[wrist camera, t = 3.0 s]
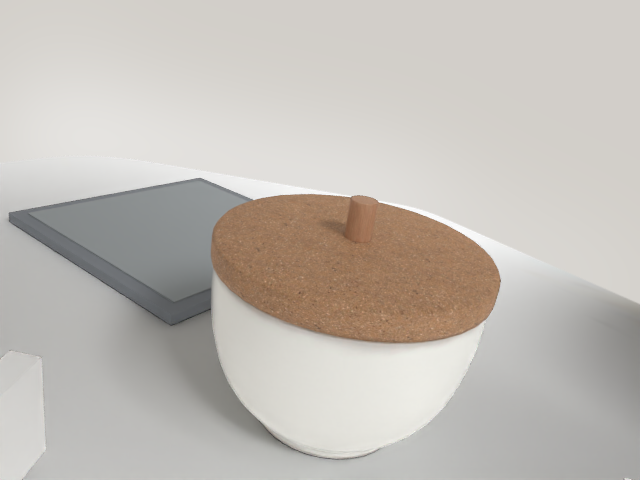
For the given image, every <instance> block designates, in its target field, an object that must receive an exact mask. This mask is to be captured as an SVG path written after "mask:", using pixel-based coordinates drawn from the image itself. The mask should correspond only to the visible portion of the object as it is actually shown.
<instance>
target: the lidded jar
mask: <svg viewBox="0 0 640 480" xmlns="http://www.w3.org/2000/svg"><path fill="white" fill-rule="evenodd" d="M211 260H212V265H213V272H212V285H211V313H212V327H213V332H214V338H215V343H216V349H217V354H218V358H219V361H220V364H221V366H222V369H223V371H224V374H225V376H226V378H227V380H228V383H229V385H230V386H231V388H232V389H233V391H234V392H235V394H236V395H237V397H238V398H239V399H240V401H241V402H242V404H243V405H244V406H245V407H246V408H247V409H248V410H249V411H250V412H251V413H252V414H253V415H254V416H255V417H256V418H257V419H258V420H259V421H260V422H261V423H262V424H263V425H264V426H265V428H266V429H267V430H268V431H269V432H270V433H271V434H272V435H273V436H274V437H275V438H277V439H278V440H279V441H281V442H282V443H284V444H285V445H287V446H289V447H291V448H293V449H295V450H297V451H300V452H303V453H305V454H309V455H312V456H316V457H322V458H329V459H349V458H356V457H361V456H365V455H368V454H370V453H373V452H375V451H377V450H378V449H380V448H382V447H385V446H388V445H390V444H393V443H396V442H398V441H401V440H403V439H405V438H407V437H409V436H410V435H412V434H413V433H415V432H417V431H418V430H420V429H421V428H423V427H424V426H426V425H427V424H428V423H429V422H430V421H431V420H432V419H433V418H434V417H435V416H436V415H437V414H438V413H439V412H440V411H441V410H442V409H443V408H444V407H445V406H446V405H447V404H448V402H449V401H450V399H451V398H452V396H453V394H454V393H455V391H456V390H457V388H458V387H459V385H460V383H461V382H462V380H463V378H464V377H465V375H466V373H467V370H468V368H469V366H470V364H471V362H472V360H473V358H474V356H475V353H476V350H477V347H478V345H479V342H480V339H481V336H482V333H483V329H484V326H485V322H486V319H487V317H488V316H489V314H490V313H491V311H492V310H493V307H494V305H495V302H496V299H497V295H498V292H499V287H500V282H501V280H500V275H499V271H498V269H497V267H496V265H495V263H494V261H493V259H492V258H491V257H490V256H489V255H488V254H487V253H486V251H485V250H484V249H482V248H481V247H480V246H479V245H478V244H476V243H475V242H474V241H473V240H471V239H470V238H468V237H466V236H465V235H463V234H462V233H460V232H458V231H456V230H454V229H452V228H451V227H449V226H447V225H445V224H443V223H440V222H438V221H435V220H433V219H431V218H428V217H426V216H423V215H420V214H418V213H415V212H412V211H408V210H405V209H402V208H398V207H394V206H391V205H387V204H383V203H378V201H377V200H376V199H374V198H371V197H367V196H360V195H357V196H352V197H351V198H350V197H342V196H331V195H316V194H300V195H280V196H273V197H266V198H261V199H257V200H252V201H249V202H246V203H243V204H241V205H238V206H236V207H234V208H232V209H230V210H228V211H227V212H226V213H225V214H224V215H223V216H222V217H221V218H220V219H219V220H218V221H217V223H216V225H215V226H214V228H213V233H212V241H211Z"/></svg>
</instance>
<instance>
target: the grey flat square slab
mask: <svg viewBox="0 0 640 480" xmlns="http://www.w3.org/2000/svg"><path fill="white" fill-rule="evenodd" d="M249 201H252V199H250V198H247V197H245V196H243V195H240V194H238V193H235V192H233V191H231V190H228V189H226V188H223V187H221V186H219V185H216V184H214V183H211V182H209V181H207V180H204V179H202V178H196V179H191V180H186V181H180V182H175V183H169V184H164V185H158V186H153V187H147V188H142V189H136V190H131V191H125V192H120V193H114V194H109V195H103V196H98V197H92V198H87V199H82V200H76V201H71V202H65V203H60V204H54V205H49V206H43V207H38V208H32V209H27V210H21V211H16V212H10V213H9V222H11V223H13V224H14V225H16V226H17V227H19V228H20V229H22V230H23V231H25V232H27V233H28V234H30V235H31V236H33V237H34V238H36V239H37V240H39V241H41V242H42V243H44V244H45V245H47V246H48V247H50V248H51V249H53V250H55V251H56V252H58V253H59V254H61V255H62V256H64V257H65V258H67V259H69V260H70V261H72V262H73V263H75V264H76V265H78V266H79V267H81V268H83V269H84V270H86V271H87V272H89V273H90V274H92V275H93V276H95V277H97V278H98V279H100V280H101V281H103V282H104V283H106V284H107V285H109V286H111V287H112V288H114V289H115V290H117V291H118V292H120V293H122V294H123V295H125V296H126V297H128V298H129V299H131V300H132V301H134V302H136V303H137V304H139V305H140V306H142V307H143V308H145V309H146V310H148V311H150V312H151V313H153V314H154V315H156V316H157V317H159V318H160V319H162V320H164V321H165V322H167V323H168V324H170V325H173V324H176V323H178V322H180V321H183V320H185V319H187V318H190V317H192V316H194V315H197V314H199V313H202V312H204V311H206V310H209V309H211V285H212V272H213V265H212V260H211V241H212V233H213V228H214V226H215V225H216V223H217V221H218V220H219V219H220V218H221V217H222V216H223V215H224V214H225V213H226V212H227V211H228V210H230V209H232V208H234V207H236V206H238V205H241V204H243V203H246V202H249Z"/></svg>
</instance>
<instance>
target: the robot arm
mask: <svg viewBox="0 0 640 480" xmlns="http://www.w3.org/2000/svg"><path fill="white" fill-rule="evenodd" d="M45 451H46V436H45V415H44V394H43V372H42V357H40V356H35V355H31V354H26V353H21V352H16V351H11V350H10V351H9V352H7V353H6V354H5V355H4V356H3V357H2V358H0V480H22V479H23V478H24V477H25V475H26V474H27V473H28V472H29V470H30V469H31V468H32V467H33V466H34V464H35V463H36V462H37V461H38V459H39V458H40V457H41V456H42V454H43V453H44V452H45ZM623 480H633V479H628V478H624V479H623Z"/></svg>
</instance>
